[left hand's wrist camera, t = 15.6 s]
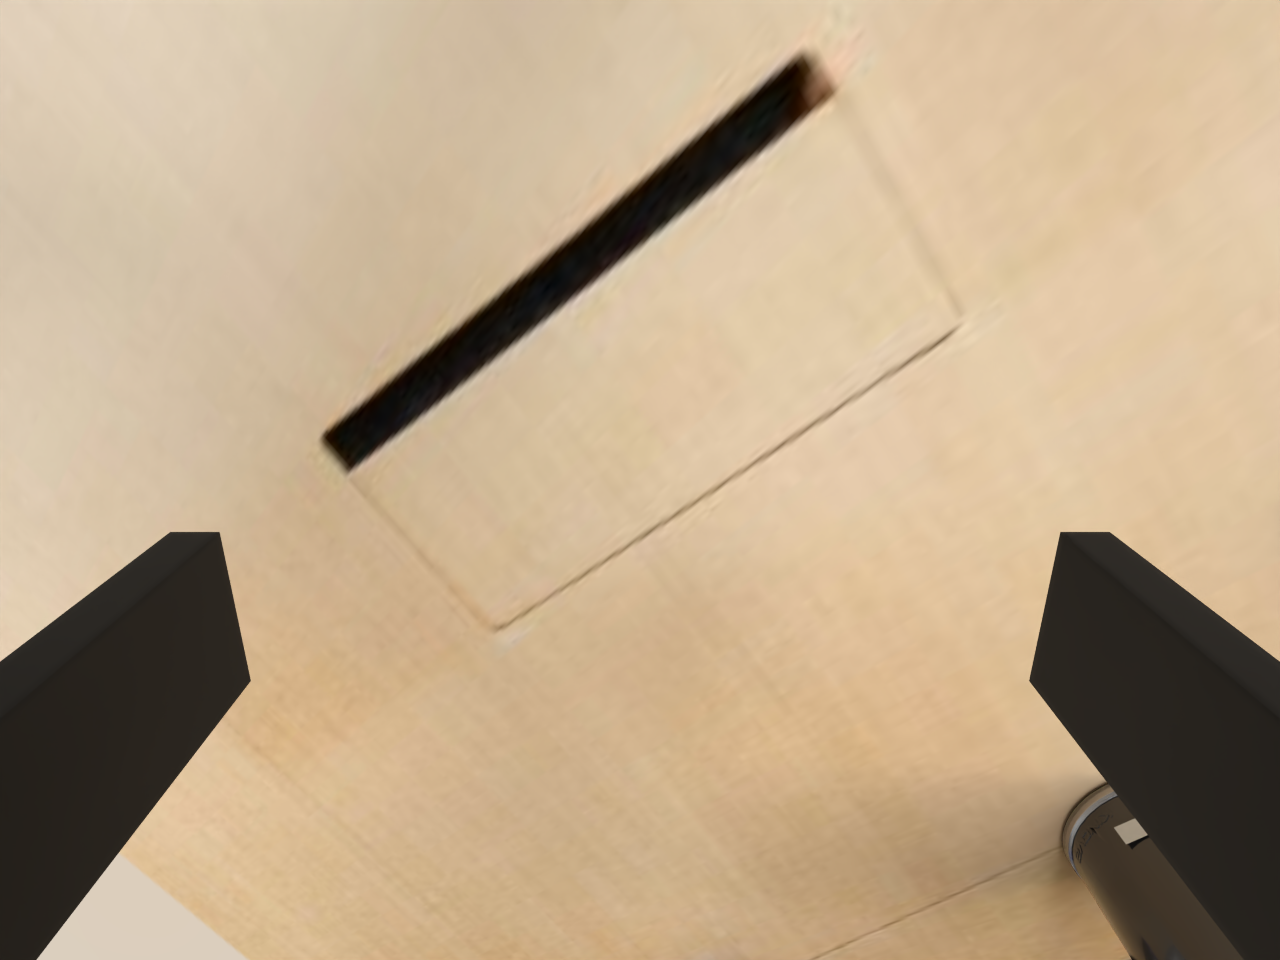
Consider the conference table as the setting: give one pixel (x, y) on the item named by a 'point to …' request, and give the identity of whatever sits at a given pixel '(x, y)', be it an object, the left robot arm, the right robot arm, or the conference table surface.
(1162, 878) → the right robot arm
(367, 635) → the conference table surface
